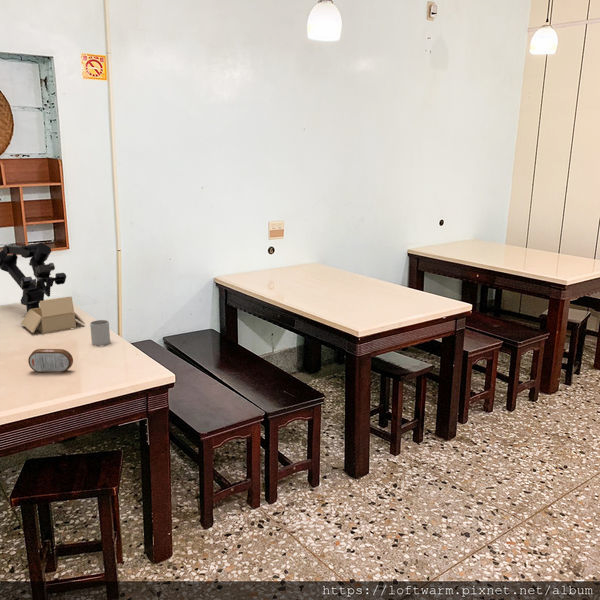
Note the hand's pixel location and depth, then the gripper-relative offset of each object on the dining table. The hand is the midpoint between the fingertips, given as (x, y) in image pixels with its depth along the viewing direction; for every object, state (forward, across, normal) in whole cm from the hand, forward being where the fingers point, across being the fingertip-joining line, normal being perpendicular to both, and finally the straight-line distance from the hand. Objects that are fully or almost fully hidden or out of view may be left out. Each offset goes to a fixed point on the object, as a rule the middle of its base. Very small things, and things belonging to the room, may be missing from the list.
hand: (49, 296), depth 265 cm
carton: (+10, 0, +10) cm, 14 cm away
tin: (+52, -18, -32) cm, 63 cm away
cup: (+36, +8, -16) cm, 40 cm away
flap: (+9, 0, -6) cm, 11 cm away
